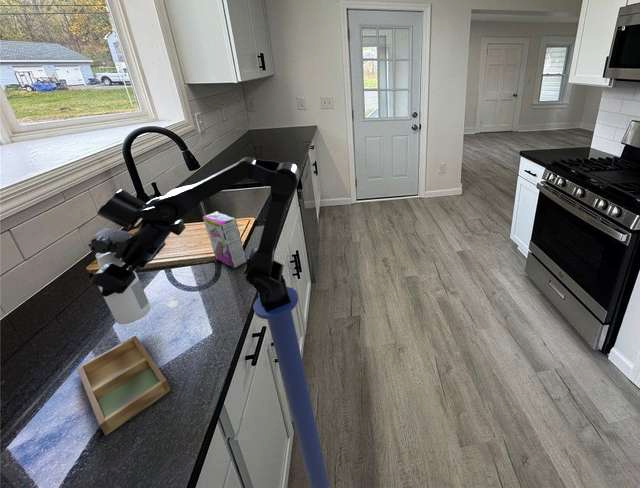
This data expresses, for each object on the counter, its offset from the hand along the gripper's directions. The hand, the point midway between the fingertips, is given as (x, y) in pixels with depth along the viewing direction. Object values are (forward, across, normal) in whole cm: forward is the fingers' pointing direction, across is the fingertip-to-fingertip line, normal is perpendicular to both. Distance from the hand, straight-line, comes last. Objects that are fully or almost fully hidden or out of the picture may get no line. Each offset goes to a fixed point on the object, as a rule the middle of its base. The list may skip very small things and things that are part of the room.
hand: (113, 285), depth 74 cm
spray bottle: (+6, 0, +8) cm, 9 cm away
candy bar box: (-2, -26, +21) cm, 33 cm away
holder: (+5, +17, +14) cm, 22 cm away
